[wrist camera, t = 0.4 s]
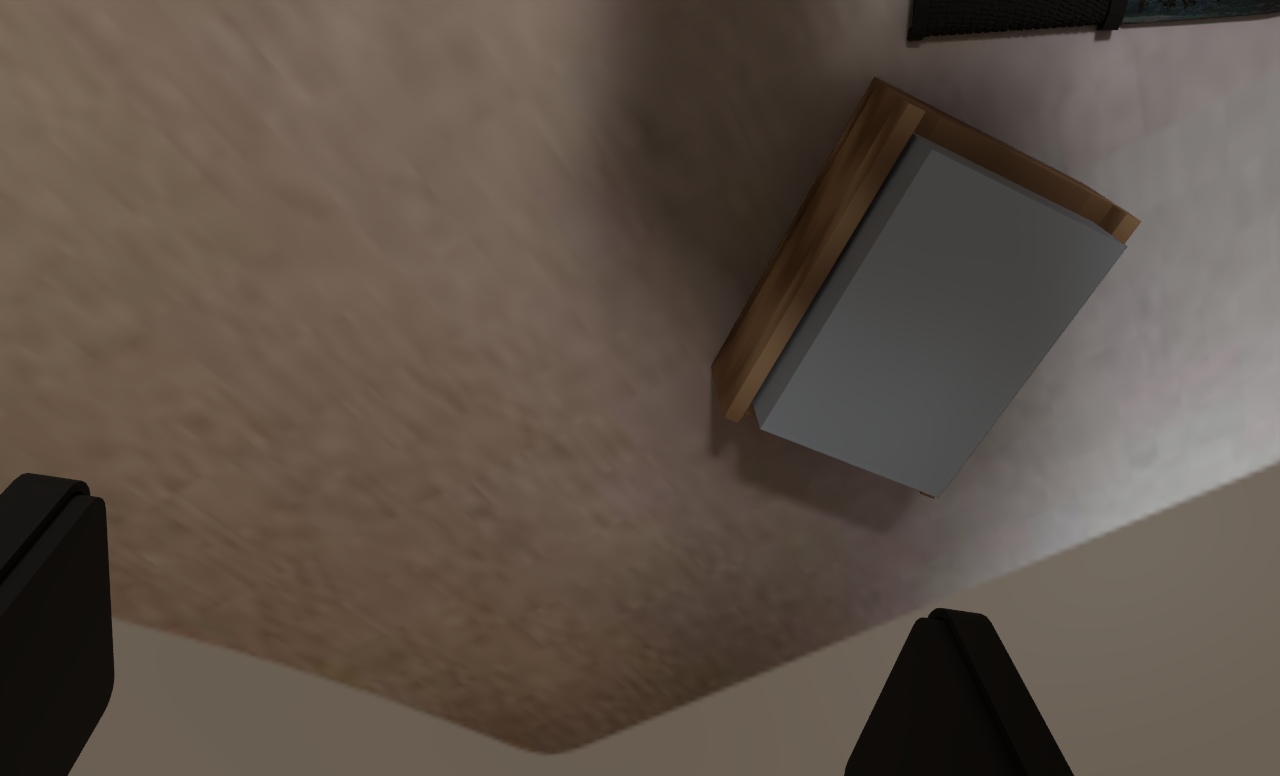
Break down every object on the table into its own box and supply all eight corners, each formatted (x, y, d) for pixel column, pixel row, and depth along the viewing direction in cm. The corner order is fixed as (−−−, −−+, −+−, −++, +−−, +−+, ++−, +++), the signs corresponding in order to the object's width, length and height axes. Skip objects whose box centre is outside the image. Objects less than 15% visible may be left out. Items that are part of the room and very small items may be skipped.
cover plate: (909, 130, 39) (932, 149, 36) (1093, 222, 41) (1127, 246, 39) (750, 396, 45) (760, 429, 42) (919, 463, 47) (938, 498, 45)
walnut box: (874, 77, 42) (909, 103, 37) (1085, 184, 45) (1141, 221, 40) (711, 365, 49) (723, 417, 44) (903, 442, 52) (933, 498, 47)
